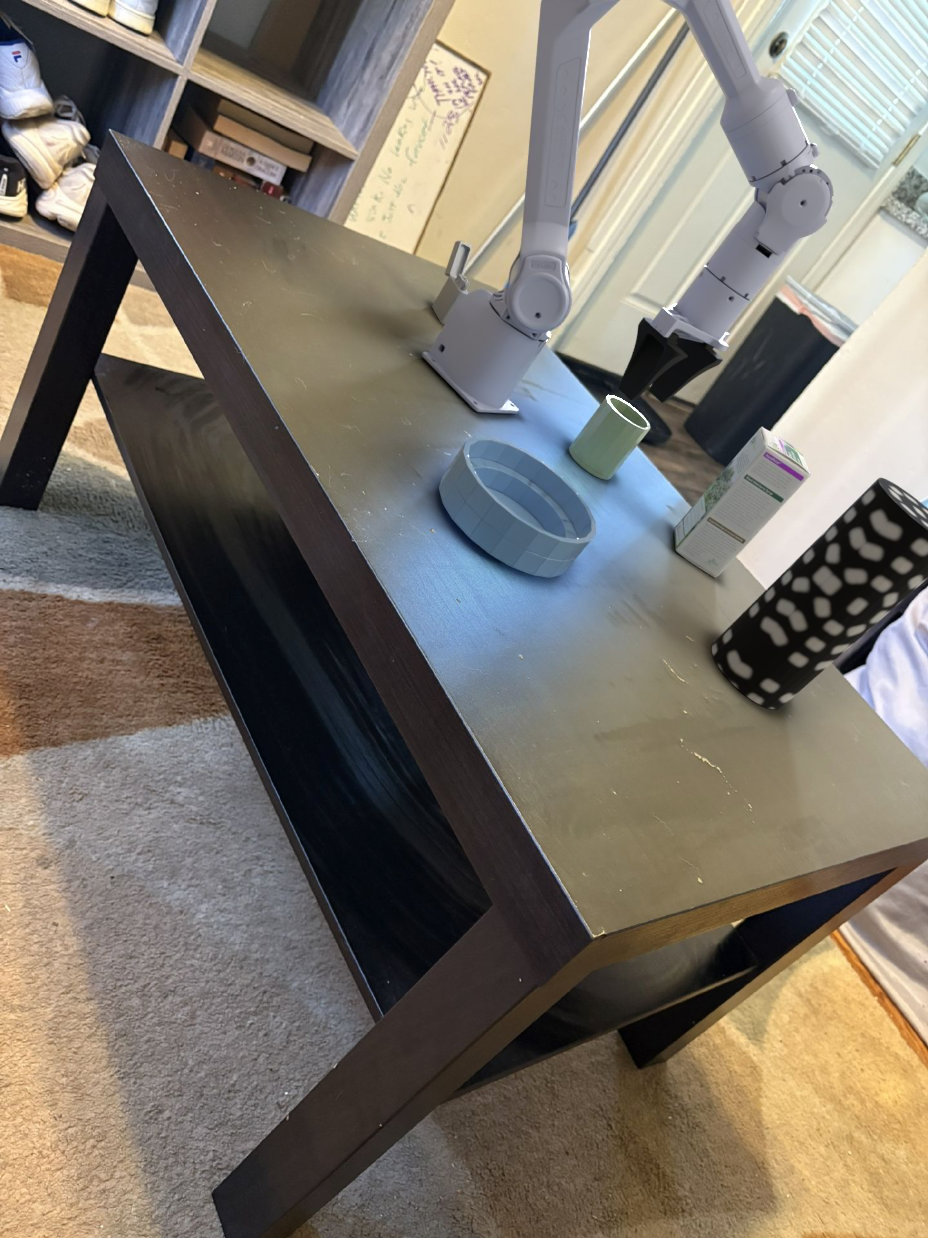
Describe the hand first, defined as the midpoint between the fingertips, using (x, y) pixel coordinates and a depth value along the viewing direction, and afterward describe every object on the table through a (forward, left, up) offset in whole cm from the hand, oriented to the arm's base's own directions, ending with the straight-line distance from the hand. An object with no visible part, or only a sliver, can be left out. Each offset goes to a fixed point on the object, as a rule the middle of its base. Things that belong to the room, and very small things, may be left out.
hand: (641, 395), depth 93 cm
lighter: (-28, 0, -9) cm, 30 cm away
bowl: (+7, -27, -9) cm, 29 cm away
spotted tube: (+29, -11, -9) cm, 32 cm away
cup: (0, 0, -9) cm, 9 cm away
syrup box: (+15, +2, -9) cm, 18 cm away
